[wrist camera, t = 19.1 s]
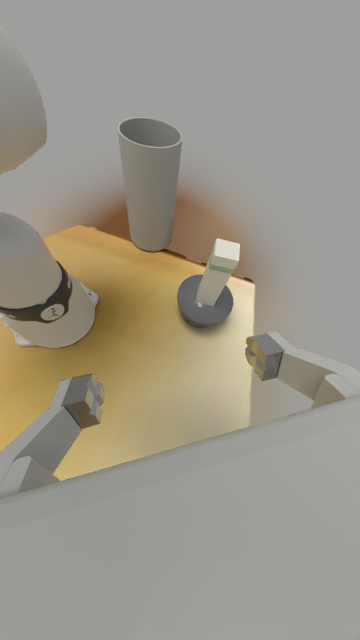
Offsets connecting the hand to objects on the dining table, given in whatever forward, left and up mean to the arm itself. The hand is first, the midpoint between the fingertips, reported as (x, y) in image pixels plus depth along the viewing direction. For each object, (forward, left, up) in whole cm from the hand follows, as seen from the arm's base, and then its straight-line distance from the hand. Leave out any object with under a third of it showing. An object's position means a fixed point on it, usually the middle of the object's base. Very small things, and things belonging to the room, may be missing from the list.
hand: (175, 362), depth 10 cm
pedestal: (-8, +22, -32) cm, 39 cm away
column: (-8, +22, -25) cm, 34 cm away
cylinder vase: (-36, +30, -32) cm, 57 cm away
